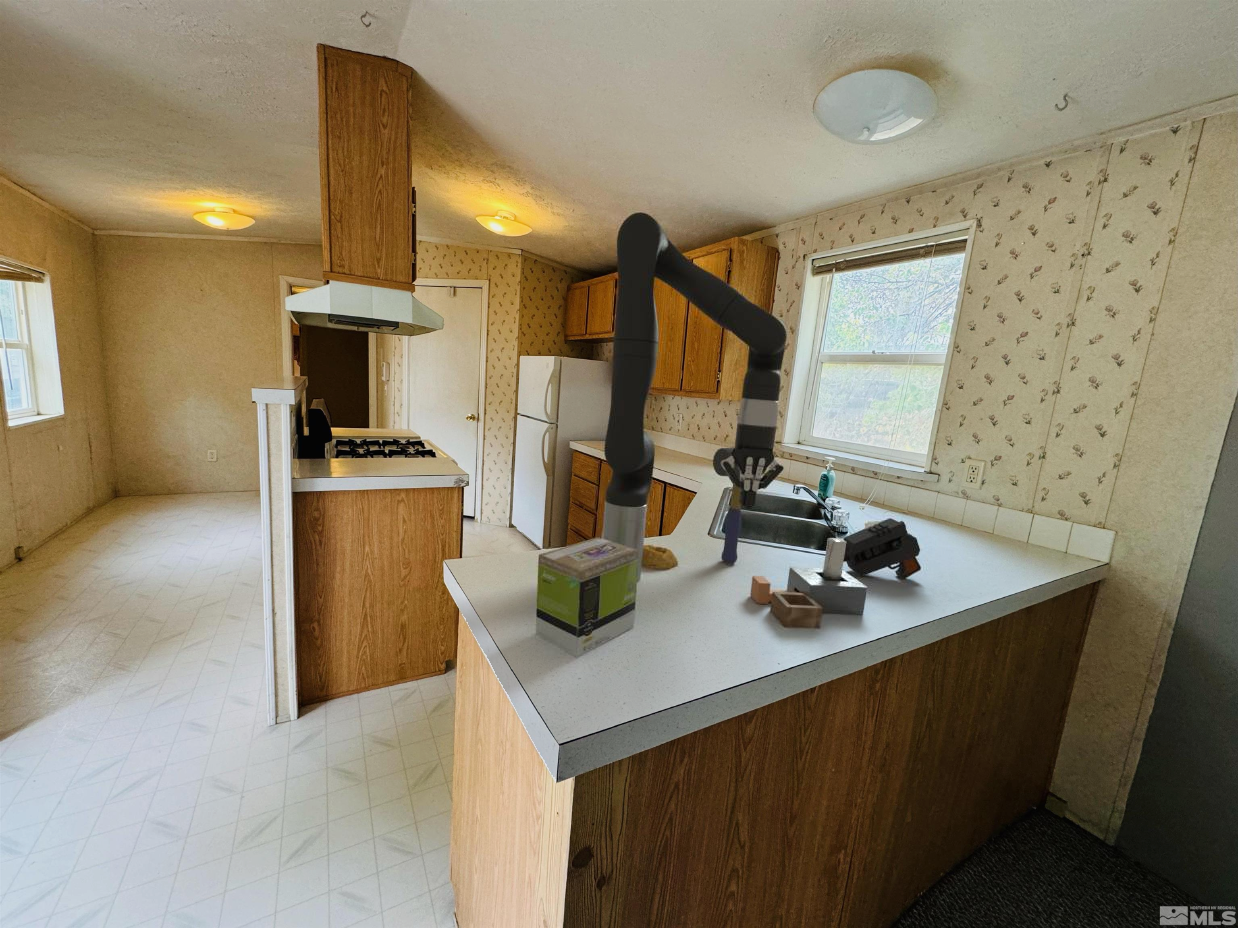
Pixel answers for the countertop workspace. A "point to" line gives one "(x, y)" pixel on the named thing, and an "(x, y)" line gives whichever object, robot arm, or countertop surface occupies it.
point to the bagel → (658, 557)
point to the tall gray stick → (834, 559)
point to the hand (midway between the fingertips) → (746, 507)
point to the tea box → (586, 594)
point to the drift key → (762, 590)
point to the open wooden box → (796, 610)
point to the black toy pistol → (883, 549)
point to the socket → (829, 590)
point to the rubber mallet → (730, 509)
